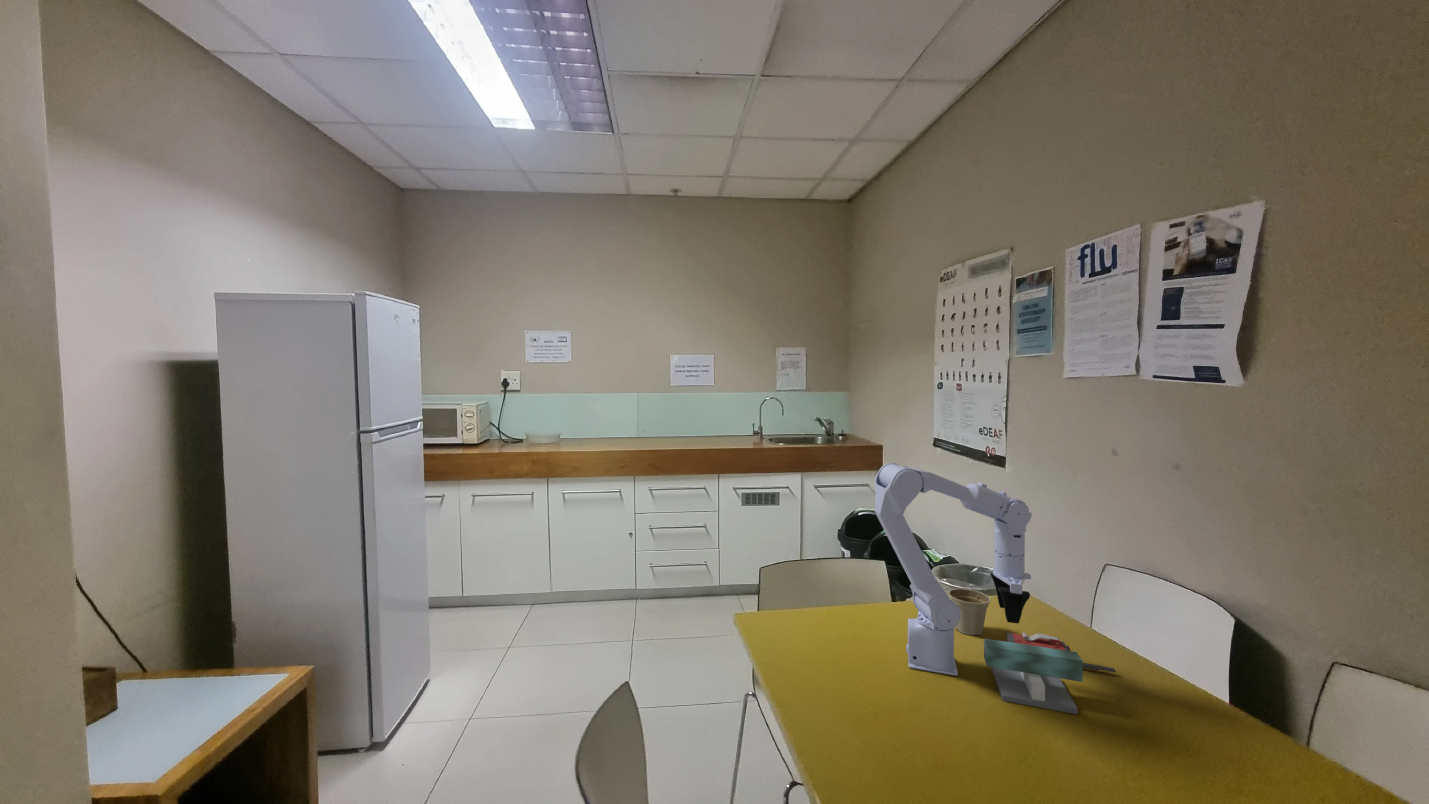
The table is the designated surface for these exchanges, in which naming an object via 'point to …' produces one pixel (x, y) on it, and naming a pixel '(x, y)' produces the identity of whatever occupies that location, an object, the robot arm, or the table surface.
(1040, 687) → the stand
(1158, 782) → the table surface
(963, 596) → the flower pot
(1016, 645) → the teal bar
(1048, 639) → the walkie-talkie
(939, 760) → the table surface
